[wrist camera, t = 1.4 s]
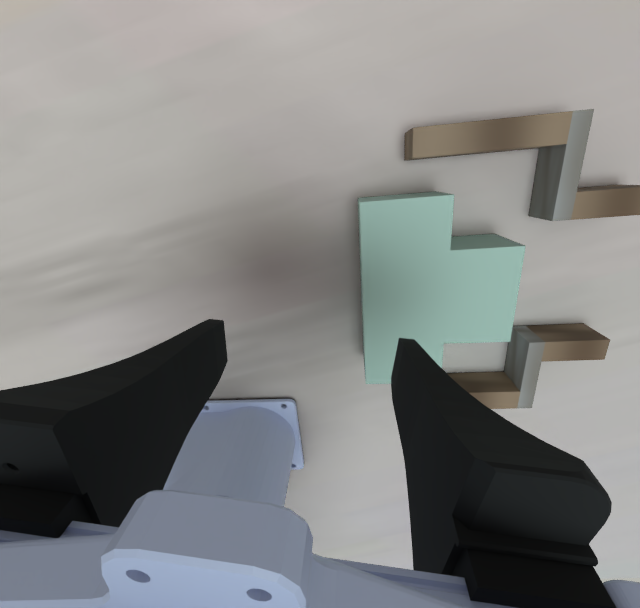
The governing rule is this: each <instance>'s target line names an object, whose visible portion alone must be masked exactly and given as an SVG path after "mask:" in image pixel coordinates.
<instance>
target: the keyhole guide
mask: <svg viewBox="0 0 640 608" xmlns="http://www.w3.org/2000/svg"><path fill="white" fill-rule="evenodd" d="M593 112H594V109H589V110H579V111H570V112H560V113H551V114H541V115H531V116H522V117H512V118H502V119H493V120H483V121H474V122H464V123H454V124H445V125H435V126H425V127H416V128H412V129H411V130H409V131H408V132H407V133H405V159H404V161H405V160H416V159H427V158H437V157H448V156H459V155H469V154H480V153H490V152H501V151H512V150H522V149H533V148H539V155H538V161H537V167H536V173H535V180H534V186H533V192H532V199H531V205H530V211H529V216H531V217H536V218H540V219H545V220H550V221H560V220H574V219H587V218H601V217H615V216H629V215H640V185H608V186H596V187H584V188H578V183H579V179H580V174H581V169H582V164H583V159H584V155H585V150H586V145H587V140H588V136H589V131H590V126H591V121H592V116H593ZM609 342H610V339H608V338H606V337H605V336H603V335H602V334H600V333H598V332H597V331H595V330H593V329H592V328H590V327H588V326H587V325H585V324H584V323H579V324H555V325H531V326H513V327H512V333H511V340H510V342H509V343H508V349H507V356H506V362H505V368H504V372H473V373H447V374H448V375H449V376H450V377H451V378H452V379H453V380H454V381H455V382H457V383H458V384H459V385H460V386H461V387H462V388H463V389H465V390H466V391H467V392H468V393H469V394H471V395H472V396H473V397H475V398H476V399H477V400H478V401H480V402H481V403H482V404H484V405H485V406H487V407H488V408H489V409H506V408H532V404H533V399H534V394H535V390H536V385H537V380H538V375H539V370H540V366H541V361H570V360H602V359H605V356H606V352H607V349H608V346H609Z"/></svg>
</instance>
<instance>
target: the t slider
mask: <svg viewBox="0 0 640 608" xmlns="http://www.w3.org/2000/svg"><path fill="white" fill-rule="evenodd" d="M453 205H454V195H453V194H447V193H441V192H436V191H435V192H423V193H411V194H399V195H387V196H375V197H363V198H358V219H359V245H360V272H361V299H362V326H363V353H364V366H365V379H366V384H391V375H392V370H393V365H394V360H395V355H396V350H397V345H398V340H399V338H406V339H415V340H416V341H417V342H418V344H419V345H420V346H421V347H422V348H423V349H424V350H425V351H426V352H427V353H428V355H429V356H430V357H431V358H432V359H433V360H434V361H435V362H436V363H437V364H438V365H439V366H440V367H441V368H442V360H443V346H444V344H445V343H479V342H510V340H511V333H512V327H513V321H514V315H515V309H516V302H517V296H518V290H519V284H520V277H521V271H522V265H523V259H524V252H525V245H522V244H520V243H517V242H514V241H512V240H509V239H507V238H504V237H502V236H499V235H497V234H482V235H467V236H453V237H451V233H452V219H453Z"/></svg>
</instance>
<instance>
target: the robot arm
mask: <svg viewBox="0 0 640 608" xmlns="http://www.w3.org/2000/svg"><path fill="white" fill-rule="evenodd" d="M226 363H227V351H226V340H225V330H224V321H223V320H213V319H209V320H206V321H204V322H202V323H200V324H198V325H196V326H194V327H192V328H190V329H188V330H186V331H184V332H182V333H180V334H179V335H177V336H175V337H173V338H171V339H169V340H167V341H165V342H163V343H161V344H158V345H156V346H154V347H152V348H150V349H148V350H146V351H144V352H141V353H139V354H137V355H134V356H132V357H129V358H126V359H124V360H121V361H119V362H116V363H113V364H110V365H107V366H103V367H100V368H97V369H94V370H91V371H88V372H84V373H81V374H77V375H73V376H69V377H66V378H61V379H57V380H53V381H49V382H44V383H39V384H34V385H29V386H23V387H18V388H12V389H7V390H1V391H0V608H640V583H639V582H632V581H625V580H610V581H606V582H604V583H602V581H601V580H600V578H599V576H598V574H597V573H596V571H595V569H594V567H593V566H596V565H597V564H598V560H597V557H596V556H595V554H594V552H593V551H592V549H591V547H590V546H589V543H590V541H591V540H592V539H593V538H594V536H595V535H596V534H597V533H598V531H599V530H600V529H601V528H602V526H603V525H604V524H605V522H606V521H607V519H608V517H609V515H610V513H611V500H610V498H609V496H608V494H607V492H606V491H605V489H604V488H603V487H602V485H601V484H600V483H599V481H598V480H597V479H596V477H595V476H594V475H593V473H592V472H591V470H590V469H589V468H588V466H587V465H586V464H585V463H584V461H583V460H581V459H579V458H577V457H575V456H573V455H570V454H568V453H566V452H564V451H562V450H560V449H558V448H556V447H554V446H552V445H550V444H548V443H546V442H544V441H542V440H540V439H538V438H537V437H535V436H533V435H531V434H529V433H528V432H526V431H524V430H522V429H521V428H519V427H517V426H516V425H514V424H512V423H511V422H509V421H507V420H506V419H504V418H503V417H501V416H500V415H498V414H497V413H495V412H494V411H492V410H491V409H489V408H488V407H487V406H485V405H484V404H482V403H481V402H480V401H478V400H477V399H476V398H475V397H473V396H472V395H471V394H469V393H468V392H467V391H466V390H465V389H463V388H462V387H461V386H460V385H459V384H458V383H457V382H455V381H454V380H453V379H452V378H451V377H450V376H449V375H448V374H447V373H446V372H445V371H444V370H443V369H442V368H441V367H440V366H439V365H438V364H437V363H436V362H435V361H434V360H433V359H432V358H431V357H430V356H429V355H428V353H427V352H426V351H425V350H424V349H423V348H422V347H421V346H420V345H419V344H418V342H417V341H416V340H415V339H406V338H399V340H398V345H397V350H396V355H395V360H394V365H393V370H392V375H391V387H392V400H393V405H394V410H395V415H396V420H397V425H398V430H399V434H400V439H401V444H402V449H403V454H404V460H405V468H406V478H407V488H408V499H409V510H410V522H411V536H412V550H413V567H414V570H408V569H401V568H395V567H388V566H381V565H374V564H367V563H360V562H353V561H346V560H340V559H333V558H326V557H322V556H319V555H316V554H313V553H312V542H313V537H312V534H311V531H310V528H309V526H308V524H307V522H306V521H305V520H304V519H303V518H301V517H300V516H299V515H297V514H296V513H295V512H293V511H292V510H291V509H289V508H285V507H284V504H285V498H286V493H287V487H288V482H289V476H290V471H291V469H302V468H303V467H304V458H303V451H302V444H301V436H300V429H299V422H298V415H297V408H296V402H295V401H294V400H292V399H262V400H216V401H208V399H209V397H210V396H211V394H212V392H213V391H214V389H215V387H216V386H217V384H218V382H219V380H220V378H221V375H222V373H223V371H224V368H225V366H226ZM282 404H286V406H284V405H282ZM205 405H206V406H208V407H206V406H205Z"/></svg>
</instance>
